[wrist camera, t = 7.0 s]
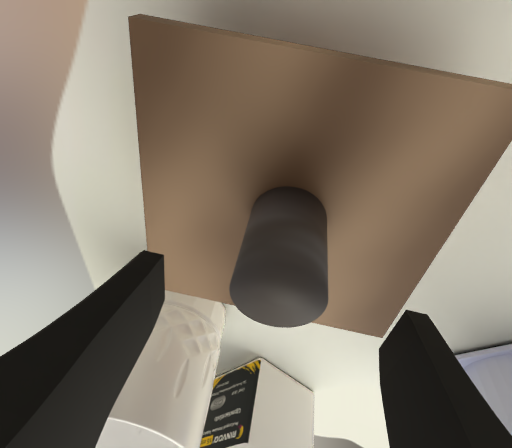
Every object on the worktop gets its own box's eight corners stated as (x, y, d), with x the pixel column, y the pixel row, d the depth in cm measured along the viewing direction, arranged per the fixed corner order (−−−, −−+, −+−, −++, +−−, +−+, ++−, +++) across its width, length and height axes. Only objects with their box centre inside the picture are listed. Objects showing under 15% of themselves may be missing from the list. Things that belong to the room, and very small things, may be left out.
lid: (527, 86, 10) (652, 157, 6) (380, 324, 17) (396, 422, 14) (139, 13, 10) (36, 38, 7) (156, 275, 18) (112, 357, 14)
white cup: (133, 319, 29) (62, 452, 21) (139, 257, 24) (49, 399, 16) (221, 346, 29) (184, 487, 21) (245, 290, 24) (208, 446, 16)
